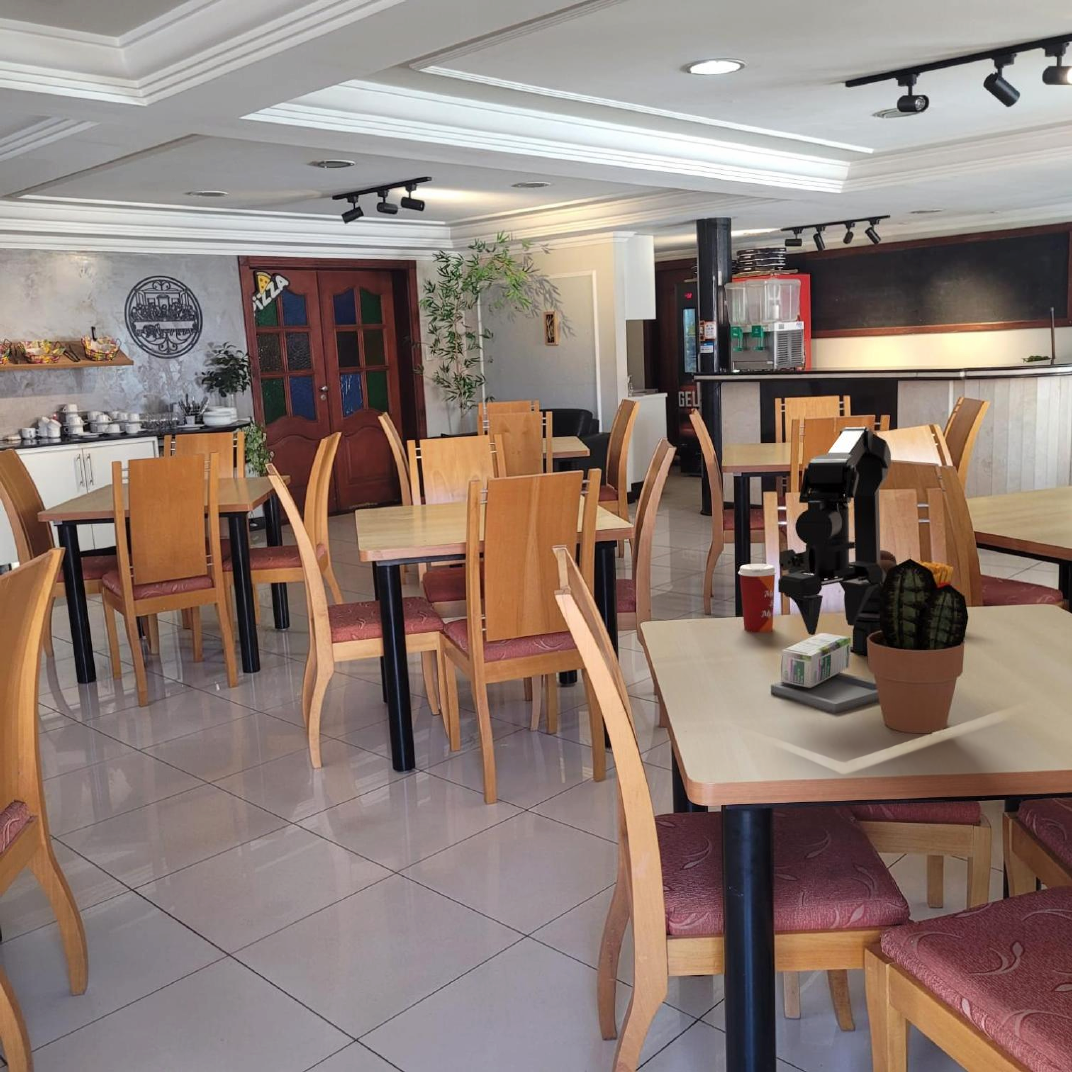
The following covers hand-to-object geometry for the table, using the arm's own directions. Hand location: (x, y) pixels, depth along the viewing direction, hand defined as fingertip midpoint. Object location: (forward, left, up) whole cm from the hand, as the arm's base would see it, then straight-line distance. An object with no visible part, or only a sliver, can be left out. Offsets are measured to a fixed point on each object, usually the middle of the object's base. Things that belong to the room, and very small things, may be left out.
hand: (831, 629), depth 173 cm
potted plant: (+2, +18, -11) cm, 21 cm away
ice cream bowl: (-46, -29, -11) cm, 56 cm away
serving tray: (0, 0, -11) cm, 11 cm away
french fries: (-50, -20, -11) cm, 55 cm away
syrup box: (-10, -8, -7) cm, 14 cm away
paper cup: (-21, -39, -11) cm, 46 cm away
